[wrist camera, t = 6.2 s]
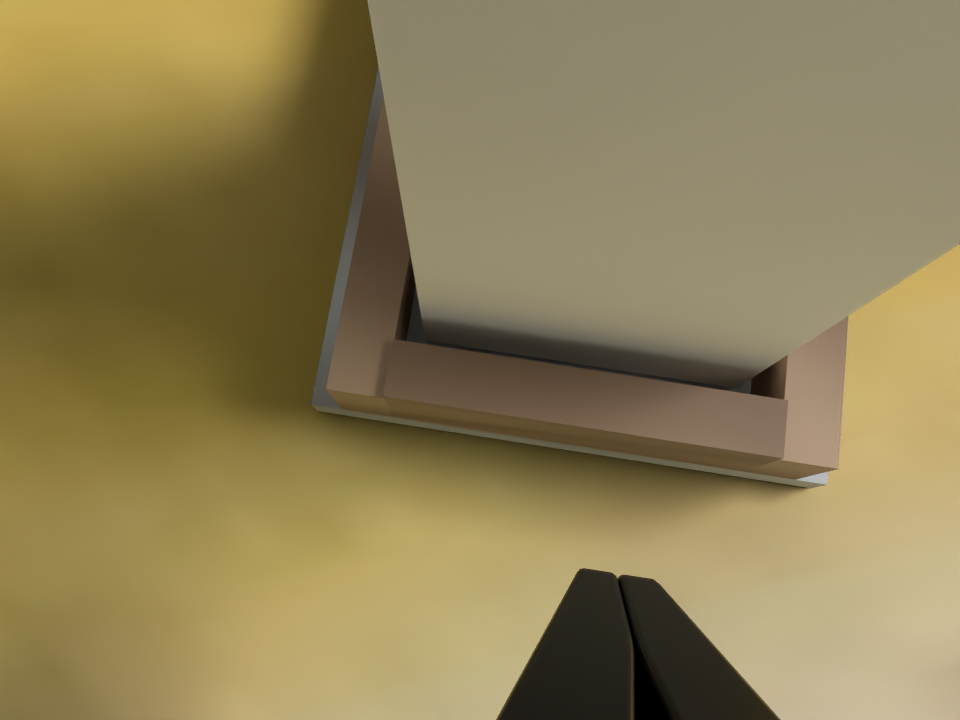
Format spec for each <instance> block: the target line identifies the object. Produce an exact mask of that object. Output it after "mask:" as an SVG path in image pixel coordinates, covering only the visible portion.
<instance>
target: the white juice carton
mask: <svg viewBox="0 0 960 720" xmlns="http://www.w3.org/2000/svg"><path fill="white" fill-rule="evenodd" d="M367 1H368V7H369V13H370V19H371V25H372V31H373V37H374V42H375V48H376V54H377V60H378V66H379V72H380V78H381V84H382V89H383V95H384V101H385V107H386V113H387V119H388V125H389V130H390V136H391V142H392V148H393V154H394V160H395V166H396V172H397V177H398V183H399V189H400V195H401V201H402V207H403V213H404V219H405V224H406V230H407V236H408V242H409V248H410V254H411V260H412V266H413V271H414V277H415V283H416V289H417V295H418V301H419V307H420V312H421V318H422V324H423V330H424V336H425V340H426V341H433V342H439V343H446V344H452V345H459V346H465V347H472V348H478V349H485V350H491V351H498V352H504V353H510V354H517V355H523V356H530V357H536V358H543V359H549V360H556V361H562V362H569V363H575V364H582V365H588V366H595V367H601V368H608V369H614V370H620V371H627V372H633V373H640V374H646V375H653V376H659V377H666V378H672V379H679V380H685V381H692V382H698V383H705V384H711V385H718V386H724V387H730V388H737V387H739V386H740V385H742V384H743V383H745V382H747V381H748V380H750V379H751V378H753V377H754V376H756V375H757V374H759V373H761V372H762V371H764V370H765V369H767V368H768V367H770V366H771V365H773V364H774V363H776V362H778V361H779V360H781V359H782V358H784V357H785V356H787V355H788V354H790V353H791V352H793V351H795V350H796V349H798V348H799V347H801V346H802V345H804V344H805V343H807V342H808V341H810V340H812V339H813V338H815V337H816V336H818V335H819V334H821V333H822V332H824V331H826V330H827V329H829V328H830V327H832V326H833V325H835V324H836V323H838V322H839V321H841V320H843V319H844V318H846V317H847V316H849V315H850V314H852V313H853V312H855V311H856V310H858V309H860V308H861V307H863V306H864V305H866V304H867V303H869V302H870V301H872V300H873V299H875V298H877V297H878V296H880V295H881V294H883V293H884V292H886V291H887V290H889V289H891V288H892V287H894V286H895V285H897V284H898V283H900V282H901V281H903V280H904V279H906V278H908V277H909V276H911V275H912V274H914V273H915V272H917V271H918V270H920V269H921V268H923V267H925V266H926V265H928V264H929V263H931V262H932V261H934V260H935V259H937V258H938V257H940V256H942V255H943V254H945V253H946V252H948V251H949V250H951V249H952V248H954V247H956V246H957V245H959V244H960V0H367Z"/></svg>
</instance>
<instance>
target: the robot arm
mask: <svg viewBox="0 0 960 720" xmlns="http://www.w3.org/2000/svg"><path fill="white" fill-rule="evenodd" d="M496 720H780V719H779V718H778V716H777V715H776V714H775V713H774V712H773V711H772V710H771V709H770V707H769V706H768V705H767V704H766V703H765V702H764V701H763V700H762V698H761V697H760V696H759V695H758V694H757V693H756V692H755V691H754V689H753V688H752V687H751V686H750V685H749V684H748V683H747V682H746V681H745V679H744V678H743V677H742V676H741V675H740V674H739V673H738V672H737V670H736V669H735V668H734V667H733V666H732V665H731V664H730V663H729V661H728V660H727V659H726V658H725V657H724V656H723V655H722V654H721V652H720V651H719V650H718V649H717V648H716V647H715V646H714V645H713V643H712V642H711V641H710V640H709V639H708V638H707V637H706V636H705V635H704V633H703V632H702V631H701V630H700V629H699V628H698V627H697V626H696V624H695V623H694V622H693V621H692V620H691V619H690V618H689V617H688V615H687V614H686V613H685V612H684V611H683V610H682V609H681V608H680V606H679V605H678V604H677V603H676V602H675V601H674V600H673V599H672V598H671V596H670V595H669V594H668V593H667V592H666V591H665V590H664V589H663V587H662V586H661V585H660V584H659V583H657V582H656V581H655V580H653V579H649V578H642V577H636V576H630V575H621V576H619V577H618V578H617V577H616V576H615V575H614V574H613V573H610V572H604V571H598V570H591V569H585V568H584V569H580V570H579V571H578V572H577V573H576V575H575V577H574V579H573V581H572V583H571V584H570V586H569V588H568V590H567V592H566V594H565V595H564V597H563V599H562V601H561V603H560V604H559V606H558V608H557V610H556V612H555V614H554V615H553V617H552V619H551V621H550V623H549V624H548V626H547V628H546V630H545V632H544V634H543V635H542V637H541V639H540V641H539V643H538V644H537V646H536V648H535V650H534V652H533V654H532V655H531V657H530V659H529V661H528V663H527V664H526V666H525V668H524V670H523V672H522V674H521V675H520V677H519V679H518V681H517V683H516V684H515V686H514V688H513V690H512V692H511V694H510V695H509V697H508V699H507V701H506V703H505V704H504V706H503V708H502V710H501V712H500V714H499V715H498V717H497V719H496Z"/></svg>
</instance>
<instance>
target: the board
mask: <svg viewBox="0 0 960 720" xmlns="http://www.w3.org/2000/svg"><path fill="white" fill-rule="evenodd" d="M847 326H848V316H847V317H846V318H844V319H843V320H841V321H839V322H838V323H836V324H835V325H833V326H832V327H830V328H829V329H827V330H826V331H824V332H822V333H821V334H819V335H818V336H816V337H815V338H813V339H812V340H810V341H808V342H807V343H805V344H804V345H802V346H801V347H799V348H798V349H796V350H795V351H793V352H791V353H790V354H788V355H787V356H785V357H784V358H782V359H781V360H779V361H778V362H776V363H774V364H773V365H771V366H770V367H768V368H767V369H765V370H764V371H762V372H761V373H759V374H757V375H756V376H754V377H753V378H751V379H750V380H748V381H747V382H745V383H743V384H742V385H740V386H739V387H737V388H730V387H724V386H718V385H711V384H705V383H698V382H692V381H685V380H679V379H672V378H666V377H659V376H653V375H646V374H640V373H633V372H627V371H620V370H614V369H608V368H601V367H595V366H588V365H582V364H575V363H569V362H562V361H556V360H549V359H543V358H536V357H530V356H523V355H517V354H510V353H504V352H498V351H491V350H485V349H478V348H472V347H465V346H459V345H452V344H446V343H439V342H433V341H426V340H425V336H424V330H423V324H422V318H421V312H420V307H419V301H418V295H417V289H416V283H415V277H414V271H413V266H412V260H411V254H410V248H409V242H408V236H407V230H406V224H405V219H404V213H403V207H402V201H401V195H400V189H399V183H398V177H397V172H396V166H395V160H394V154H393V148H392V142H391V136H390V130H389V125H388V119H387V113H386V107H385V101H384V95H383V89H382V84H381V78H380V72H379V66H378V70H377V75H376V80H375V85H374V90H373V95H372V100H371V105H370V110H369V115H368V120H367V125H366V130H365V135H364V140H363V145H362V150H361V155H360V160H359V165H358V170H357V175H356V180H355V185H354V190H353V195H352V200H351V205H350V210H349V215H348V220H347V225H346V230H345V235H344V240H343V245H342V250H341V255H340V260H339V265H338V270H337V275H336V280H335V285H334V290H333V295H332V300H331V305H330V310H329V315H328V320H327V325H326V330H325V335H324V340H323V345H322V350H321V355H320V360H319V365H318V370H317V375H316V380H315V385H314V390H313V395H312V400H311V405H312V406H313V407H314V408H315V409H316V410H317V411H320V412H326V413H333V414H339V415H346V416H352V417H359V418H365V419H371V420H378V421H384V422H391V423H397V424H403V425H410V426H416V427H423V428H429V429H435V430H442V431H448V432H455V433H461V434H467V435H474V436H480V437H487V438H493V439H499V440H506V441H512V442H519V443H525V444H531V445H538V446H544V447H551V448H557V449H563V450H570V451H576V452H583V453H589V454H595V455H602V456H608V457H615V458H621V459H627V460H634V461H640V462H647V463H653V464H659V465H666V466H672V467H679V468H685V469H691V470H698V471H704V472H711V473H717V474H723V475H730V476H736V477H743V478H749V479H755V480H762V481H768V482H775V483H781V484H787V485H794V486H800V487H807V488H814V487H819V486H823V485H827V474H828V471H832V470H836V469H838V467H839V451H840V435H841V420H842V404H843V389H844V373H845V357H846V342H847Z"/></svg>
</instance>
